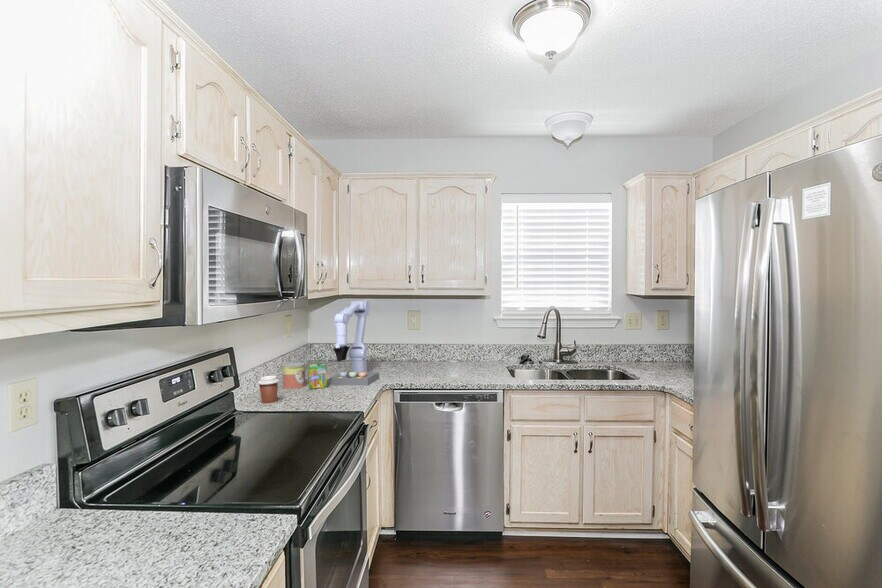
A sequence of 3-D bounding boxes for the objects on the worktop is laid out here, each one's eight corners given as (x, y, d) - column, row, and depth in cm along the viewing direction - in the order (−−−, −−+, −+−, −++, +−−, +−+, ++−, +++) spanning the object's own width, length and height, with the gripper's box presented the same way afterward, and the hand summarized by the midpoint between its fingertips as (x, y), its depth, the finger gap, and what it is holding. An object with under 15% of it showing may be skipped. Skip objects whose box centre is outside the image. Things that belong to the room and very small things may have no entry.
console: (342, 378, 250) (342, 371, 250) (378, 378, 245) (378, 371, 245) (329, 384, 234) (329, 377, 234) (368, 385, 229) (367, 378, 229)
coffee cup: (283, 400, 205) (282, 374, 205) (275, 405, 196) (273, 379, 196) (264, 400, 205) (262, 375, 205) (255, 406, 196) (253, 379, 196)
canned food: (293, 390, 225) (292, 367, 224) (278, 388, 230) (277, 365, 230) (310, 385, 234) (309, 363, 234) (295, 383, 240) (294, 361, 240)
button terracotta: (360, 377, 239) (360, 371, 239) (367, 377, 238) (367, 371, 238) (357, 378, 235) (357, 373, 235) (364, 378, 234) (364, 373, 234)
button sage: (351, 376, 240) (350, 371, 240) (357, 377, 239) (357, 371, 239) (348, 378, 236) (347, 372, 236) (354, 378, 235) (354, 373, 235)
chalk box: (308, 386, 233) (306, 358, 233) (325, 384, 236) (324, 356, 236) (309, 389, 224) (308, 361, 224) (328, 387, 228) (326, 359, 227)
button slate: (341, 376, 241) (341, 371, 241) (348, 376, 240) (348, 371, 240) (338, 378, 237) (338, 372, 237) (345, 378, 237) (345, 372, 236)
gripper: (338, 335, 245) (338, 359, 245) (330, 336, 231) (330, 362, 230) (350, 335, 245) (350, 359, 244) (343, 335, 231) (343, 361, 230)
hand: (341, 360), depth 237 cm, fingers open, 7 cm apart
